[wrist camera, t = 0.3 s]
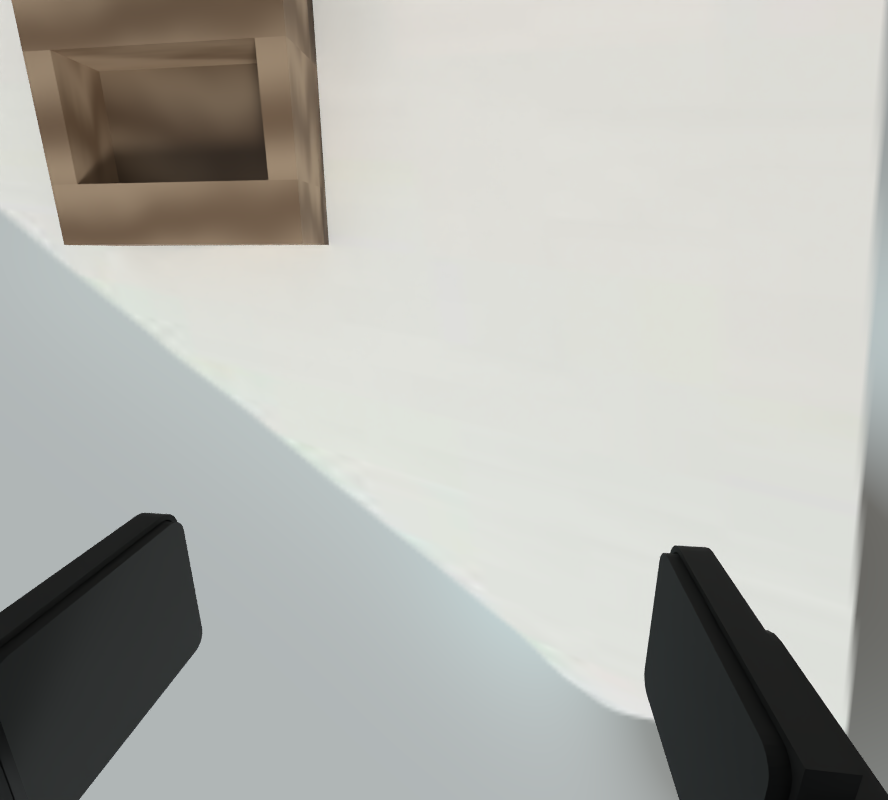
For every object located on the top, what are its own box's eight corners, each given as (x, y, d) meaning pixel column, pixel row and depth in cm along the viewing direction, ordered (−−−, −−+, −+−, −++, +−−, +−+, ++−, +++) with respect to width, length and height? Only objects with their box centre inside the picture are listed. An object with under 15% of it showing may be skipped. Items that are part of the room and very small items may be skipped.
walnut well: (73, 14, 36) (6, -23, 31) (312, -3, 33) (279, -45, 29) (117, 245, 40) (64, 244, 35) (328, 244, 38) (302, 243, 33)
